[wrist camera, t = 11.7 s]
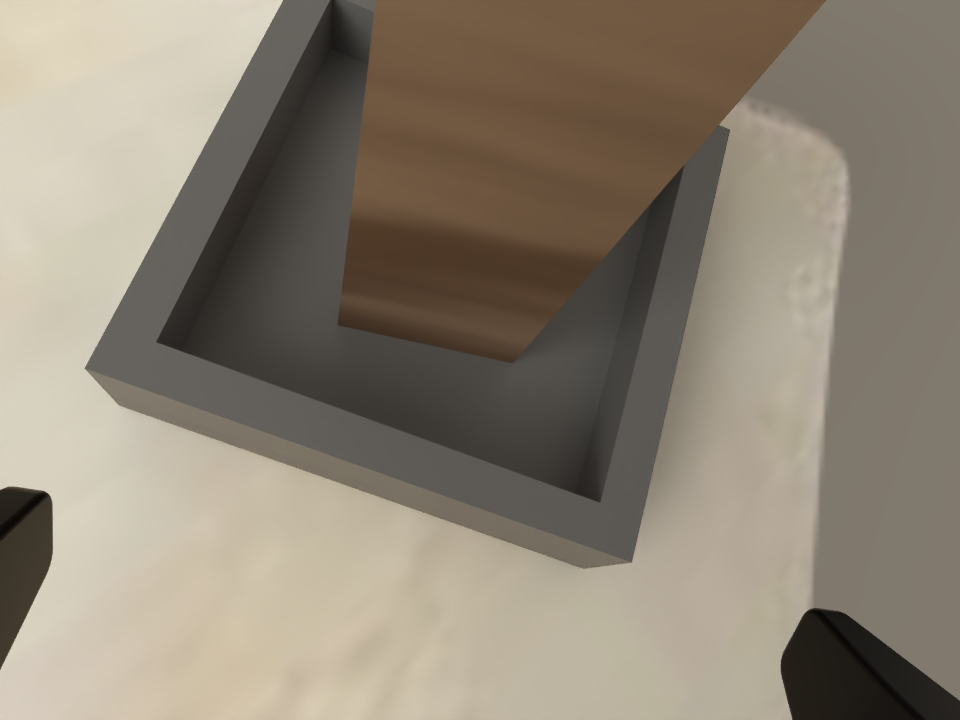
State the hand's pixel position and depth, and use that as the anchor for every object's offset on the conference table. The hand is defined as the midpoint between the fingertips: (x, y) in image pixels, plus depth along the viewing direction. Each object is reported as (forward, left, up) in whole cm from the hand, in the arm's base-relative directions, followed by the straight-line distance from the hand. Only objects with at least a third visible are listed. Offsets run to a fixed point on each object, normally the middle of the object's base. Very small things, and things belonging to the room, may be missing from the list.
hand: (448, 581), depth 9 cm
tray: (+8, +1, -10) cm, 13 cm away
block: (+8, +1, -9) cm, 12 cm away
